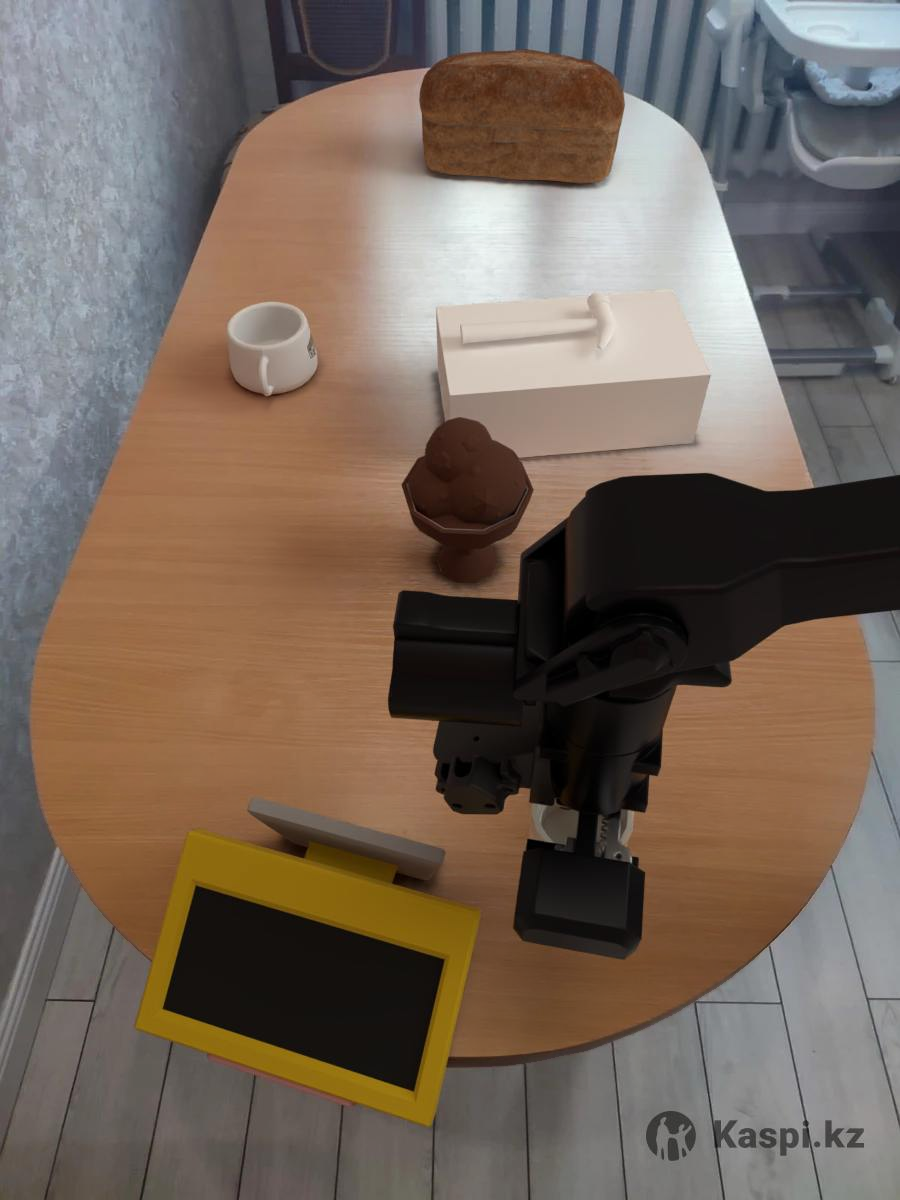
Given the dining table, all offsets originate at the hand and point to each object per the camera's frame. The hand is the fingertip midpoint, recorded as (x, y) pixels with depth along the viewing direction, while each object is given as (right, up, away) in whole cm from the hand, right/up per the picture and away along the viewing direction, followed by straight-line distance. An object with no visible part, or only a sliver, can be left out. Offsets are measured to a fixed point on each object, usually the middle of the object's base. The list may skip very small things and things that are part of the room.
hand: (577, 835), depth 56 cm
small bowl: (0, -1, +1) cm, 1 cm away
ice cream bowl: (-6, +18, +27) cm, 33 cm away
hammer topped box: (+4, +35, +40) cm, 53 cm away
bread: (+2, +77, +73) cm, 106 cm away
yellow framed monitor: (-15, -1, +6) cm, 16 cm away
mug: (-28, +40, +44) cm, 65 cm away
